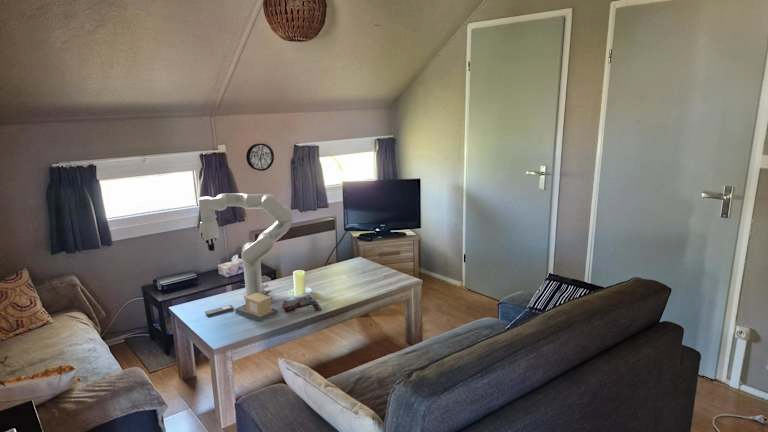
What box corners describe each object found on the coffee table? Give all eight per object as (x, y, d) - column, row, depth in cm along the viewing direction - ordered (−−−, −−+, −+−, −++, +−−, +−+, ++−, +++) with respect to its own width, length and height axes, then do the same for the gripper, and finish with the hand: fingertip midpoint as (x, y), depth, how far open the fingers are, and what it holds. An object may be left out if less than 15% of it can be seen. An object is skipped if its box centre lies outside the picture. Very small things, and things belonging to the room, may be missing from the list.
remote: (207, 317, 258) (207, 314, 257) (205, 314, 261) (205, 311, 261) (234, 310, 265) (233, 307, 265) (231, 308, 269) (231, 304, 268)
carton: (257, 292, 261) (270, 297, 255) (258, 306, 263) (271, 311, 257) (244, 297, 255) (258, 302, 248) (246, 311, 257) (259, 317, 250)
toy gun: (286, 316, 265) (281, 299, 262) (321, 308, 266) (317, 291, 263) (285, 319, 261) (280, 302, 258) (321, 311, 261) (317, 294, 259)
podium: (253, 304, 271) (253, 300, 271) (277, 313, 260) (277, 309, 259) (235, 312, 262) (235, 308, 262) (260, 322, 251) (259, 317, 250)
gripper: (215, 215, 278) (218, 246, 283) (192, 220, 267) (195, 252, 271) (223, 217, 274) (226, 248, 278) (200, 222, 262) (203, 255, 267)
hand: (211, 250), depth 275 cm, fingers closed
